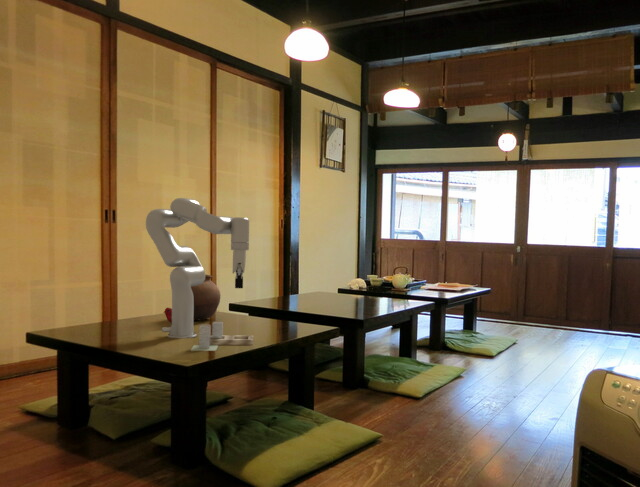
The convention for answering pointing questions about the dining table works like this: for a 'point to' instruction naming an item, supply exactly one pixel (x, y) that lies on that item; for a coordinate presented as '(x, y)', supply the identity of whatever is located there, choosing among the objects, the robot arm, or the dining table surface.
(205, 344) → the billet
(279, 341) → the dining table surface
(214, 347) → the rubber mat
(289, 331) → the dining table surface
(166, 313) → the decorative bird figurine
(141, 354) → the dining table surface
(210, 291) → the pottery
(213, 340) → the pallet
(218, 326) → the block
